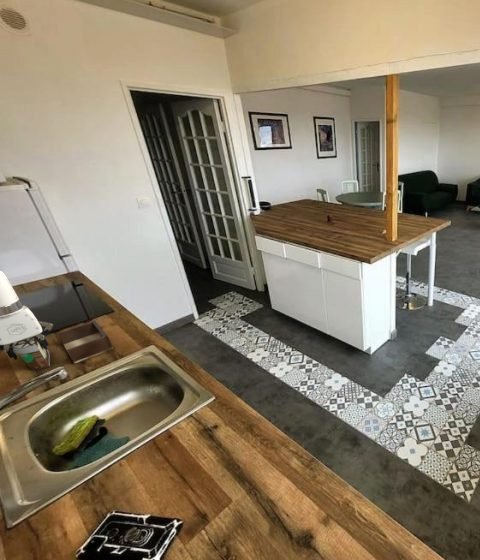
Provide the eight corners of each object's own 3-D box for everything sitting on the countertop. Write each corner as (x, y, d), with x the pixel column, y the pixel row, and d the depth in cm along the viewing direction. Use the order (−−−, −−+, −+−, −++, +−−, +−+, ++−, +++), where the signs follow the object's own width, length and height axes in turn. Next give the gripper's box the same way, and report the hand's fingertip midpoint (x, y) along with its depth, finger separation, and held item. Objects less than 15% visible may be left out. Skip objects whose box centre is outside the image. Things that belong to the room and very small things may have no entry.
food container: (25, 359, 111) (11, 336, 106) (49, 352, 115) (37, 329, 110) (23, 377, 103) (8, 353, 99) (49, 368, 107) (35, 345, 103)
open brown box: (74, 363, 109) (67, 350, 107) (63, 345, 119) (57, 332, 116) (113, 348, 117) (107, 336, 115) (100, 332, 127) (95, 320, 124)
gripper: (-39, 323, 91) (-7, 371, 98) (44, 301, 103) (67, 345, 111) (-40, 315, 95) (-9, 361, 102) (40, 295, 107) (63, 337, 115)
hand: (30, 352), depth 107 cm, fingers closed on food container, 6 cm apart
